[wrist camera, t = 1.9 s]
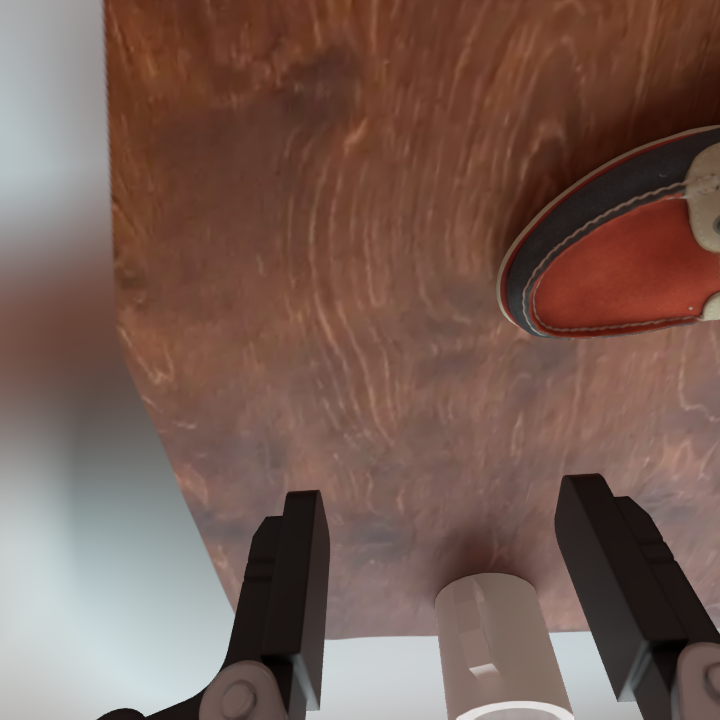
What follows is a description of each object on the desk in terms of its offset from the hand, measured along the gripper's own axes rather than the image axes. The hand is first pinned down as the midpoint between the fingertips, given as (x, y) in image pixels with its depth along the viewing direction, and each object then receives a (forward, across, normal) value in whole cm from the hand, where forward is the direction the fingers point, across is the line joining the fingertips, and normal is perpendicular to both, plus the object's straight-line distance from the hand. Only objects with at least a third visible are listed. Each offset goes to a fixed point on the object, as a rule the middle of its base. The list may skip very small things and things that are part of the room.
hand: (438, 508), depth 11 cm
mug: (+20, -6, +38) cm, 43 cm away
